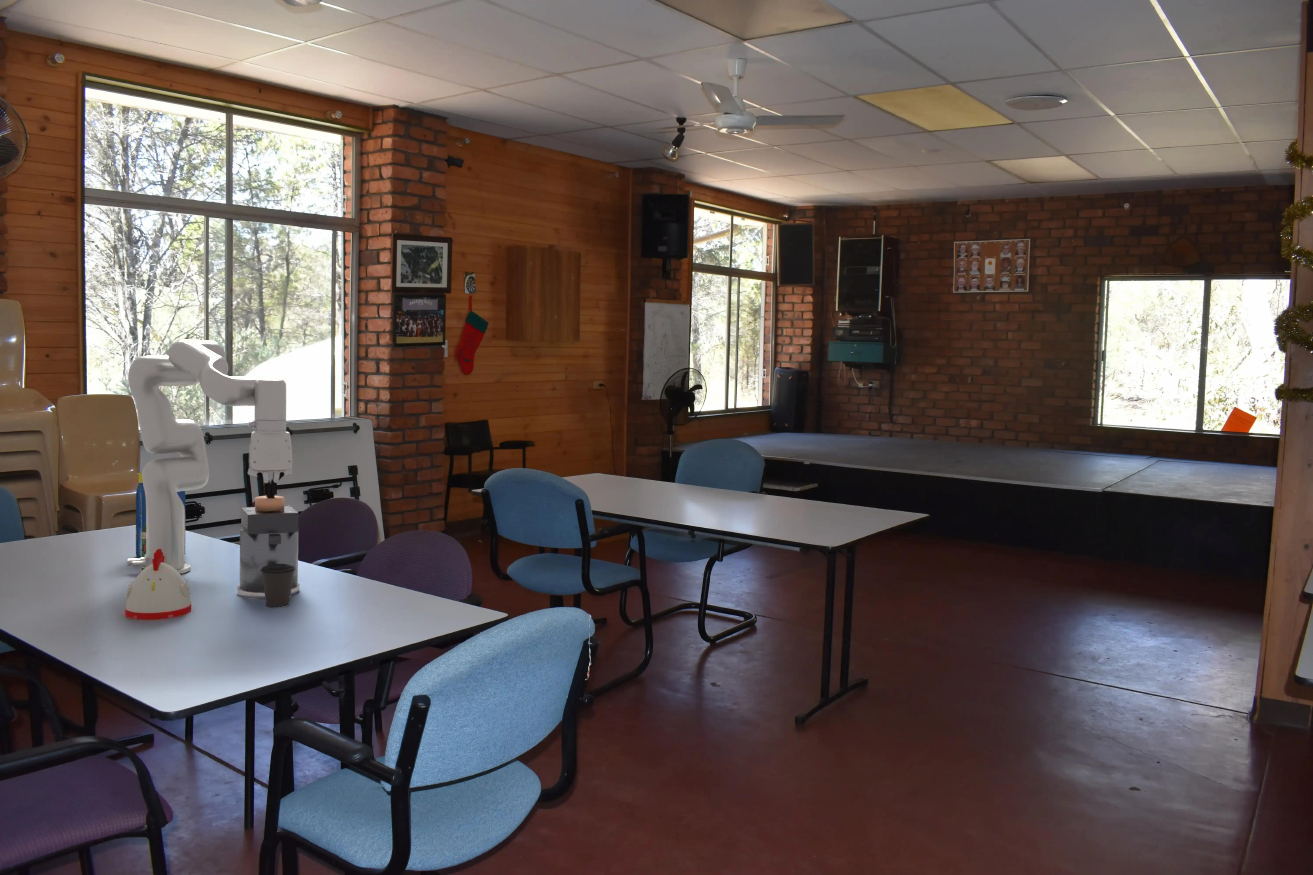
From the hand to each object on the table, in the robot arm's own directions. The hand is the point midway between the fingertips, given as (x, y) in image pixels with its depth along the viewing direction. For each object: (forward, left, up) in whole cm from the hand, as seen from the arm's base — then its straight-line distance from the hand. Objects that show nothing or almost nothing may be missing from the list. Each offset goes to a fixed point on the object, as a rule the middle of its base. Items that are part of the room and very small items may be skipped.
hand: (270, 497), depth 247 cm
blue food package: (-22, +57, -25) cm, 66 cm away
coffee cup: (0, -14, -25) cm, 29 cm away
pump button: (0, 0, -8) cm, 8 cm away
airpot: (0, -1, -25) cm, 25 cm away
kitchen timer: (-26, -11, -25) cm, 38 cm away
